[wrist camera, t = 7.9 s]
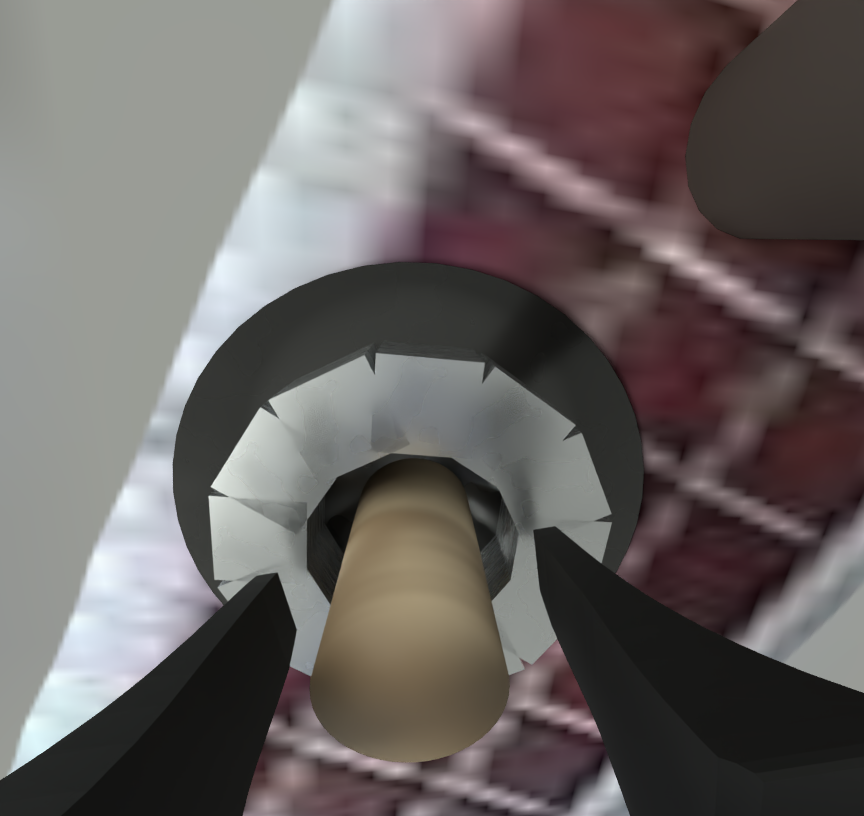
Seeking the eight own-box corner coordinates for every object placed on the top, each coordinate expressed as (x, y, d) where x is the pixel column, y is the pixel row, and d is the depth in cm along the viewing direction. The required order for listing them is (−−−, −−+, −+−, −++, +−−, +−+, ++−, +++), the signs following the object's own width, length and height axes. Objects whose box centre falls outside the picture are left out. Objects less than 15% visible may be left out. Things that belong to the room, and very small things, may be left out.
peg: (427, 572, 16) (435, 786, 9) (338, 521, 15) (273, 714, 8) (489, 494, 15) (549, 668, 8) (398, 437, 14) (380, 577, 7)
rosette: (459, 732, 19) (467, 807, 16) (99, 556, 15) (32, 614, 13) (734, 450, 15) (803, 486, 12) (338, 138, 12) (314, 94, 9)
